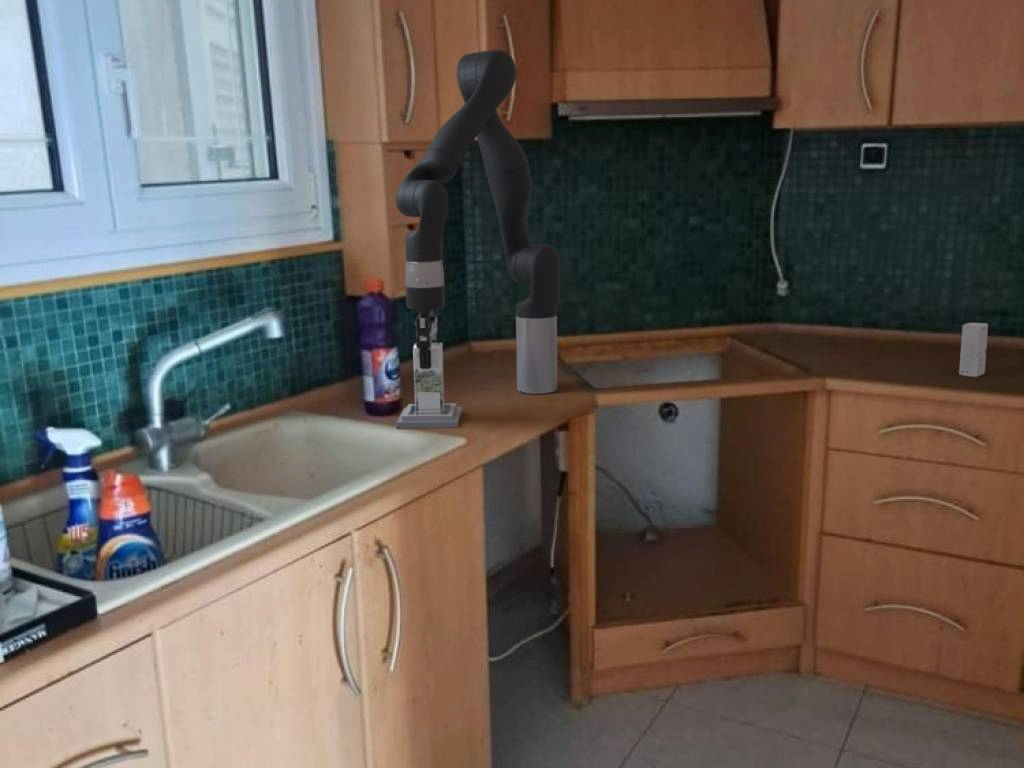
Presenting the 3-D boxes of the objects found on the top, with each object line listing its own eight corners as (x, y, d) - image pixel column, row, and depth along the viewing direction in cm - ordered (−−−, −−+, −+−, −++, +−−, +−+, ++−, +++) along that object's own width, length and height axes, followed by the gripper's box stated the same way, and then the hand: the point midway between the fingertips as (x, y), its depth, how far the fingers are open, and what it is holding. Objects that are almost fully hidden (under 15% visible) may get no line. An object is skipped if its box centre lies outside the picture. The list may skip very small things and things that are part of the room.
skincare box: (977, 377, 220) (982, 326, 217) (957, 375, 223) (961, 324, 220) (985, 373, 224) (990, 323, 222) (965, 370, 227) (970, 321, 225)
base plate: (404, 413, 196) (404, 402, 196) (461, 412, 196) (461, 402, 195) (396, 428, 184) (396, 417, 184) (457, 427, 184) (456, 416, 184)
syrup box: (445, 410, 193) (442, 341, 190) (443, 417, 187) (441, 346, 184) (417, 411, 193) (414, 341, 190) (415, 418, 187) (412, 347, 184)
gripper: (440, 287, 177) (443, 371, 181) (447, 279, 191) (449, 357, 194) (401, 288, 177) (404, 372, 181) (410, 280, 191) (413, 357, 195)
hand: (428, 364), depth 188 cm, fingers open, 8 cm apart
